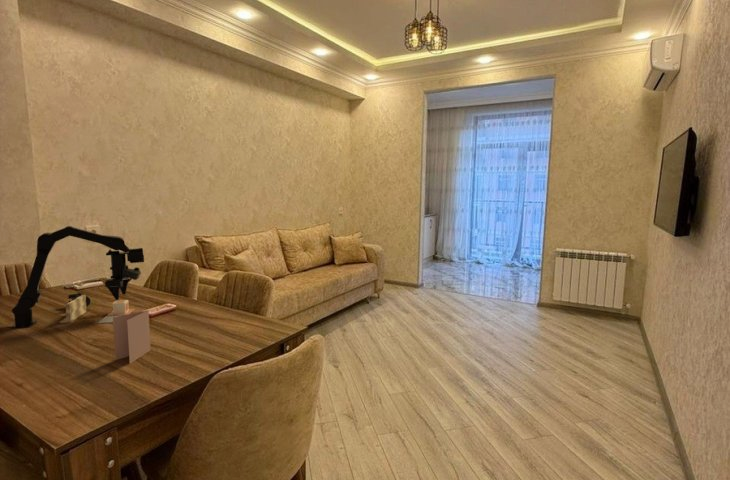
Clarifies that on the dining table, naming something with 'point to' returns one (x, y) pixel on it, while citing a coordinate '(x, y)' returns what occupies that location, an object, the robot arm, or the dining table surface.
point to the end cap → (78, 296)
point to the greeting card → (131, 335)
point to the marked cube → (120, 306)
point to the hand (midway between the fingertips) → (120, 297)
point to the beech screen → (75, 309)
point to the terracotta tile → (121, 314)
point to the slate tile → (107, 319)
